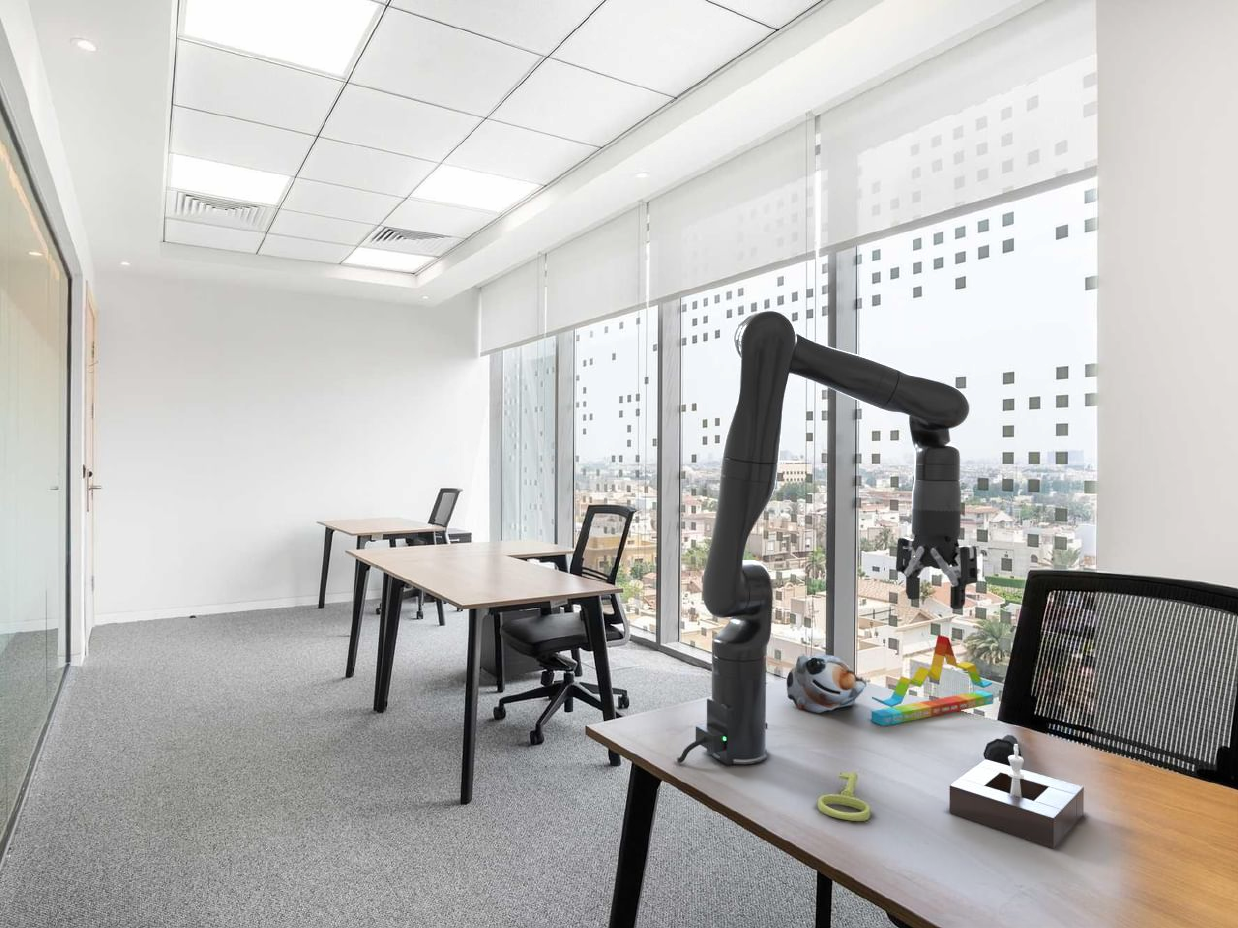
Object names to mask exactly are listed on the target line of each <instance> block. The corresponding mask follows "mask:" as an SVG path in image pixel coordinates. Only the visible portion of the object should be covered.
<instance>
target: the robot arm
mask: <svg viewBox="0 0 1238 928" xmlns="http://www.w3.org/2000/svg"><path fill="white" fill-rule="evenodd" d="M732 344H733V349H734V351H735V354H736V355H737V357H738V358H739V359H740V379H739V389H738V390H739V391H738V397H737V401H736V406H735V409H734V412H733V415H732V418H731V421H730V423H729V427H728V430H727V433H726V437H725V440H724V446H723V450H722V458H721V467H720V468H721V469H720V475H719V486H718V487H719V488H718V495H717V496H718V497H717V503H716V510H715V518H714V524H713V530H712V535H711V540H710V544H709V547H708V548H709V549H708V553H707V557H706V561H705V566H704V569H703V570H704V571H703V574H702V575H703V576H702V585H701V587H702V588H701V589H702V590H701V591H702V600H703V602H704V606H705V607H706V610H707V611H708V612H709V614H711V615H712V616H713V617H716V618H718V619H728V618H729V621H728V623H727V624H726V625H725V626H724V628H722V629H721V630H720V631H719V632H717V633H716V634H715V635H714V636H713V637H712V641H711V697H708V698H707V699H706V723H703V724H698V725H695V741H693V742H691V743H689V744H688V745H687V746H685V748H684V749H683V751H682V753H681V755H680V757H677V758H676V760H677V761H676V762H677V763H678V764H681V763H683V762H684V761H685V760H686V758H687V756H688V754H689V753H690V752H691V751H692V750H694V749H696V748H697V747H698V746H701V747H703V748H705V749H706V754H709V755H710V756H712V757H713V758H715V759H717V760H718V761H720V762H722V763H723V764H726V765H727V766H730V765H754V764H758V763H760V762H762V761H764V760H765V759H766V758H767V749H766V748H767V747H766V746H767V743H766V742H767V737H766V736H767V730H768V723H767V647H768V645H769V643H770V639H771V636H772V622H773V603H774V591H773V590H774V588H773V582H772V578H771V575H770V573H769V571H768V569H767V567H766V566H765V565H764V564H762V563H761V562H760V561H757V560H753V559H744V558H745V551H746V547H747V544H748V541H749V537H750V535H751V533H752V531H753V530H754V527H755V525H756V524H757V522H758V521H759V520H760V518H761V516H762V514H764V511H765V510H766V508H767V506H768V505H769V503H770V501H771V499H772V497H773V494H774V492H775V489H776V483H777V475H778V468H779V462H780V461H779V460H780V452H781V451H780V450H781V449H780V448H781V441H782V440H781V439H782V429H783V428H782V427H783V412H784V402H785V395H786V391H787V386H788V382H789V379H790V374H791V375H794V376H797V377H801V378H803V379H806V380H808V381H811V382H814V383H817V384H819V385H822V386H824V387H826V388H829V389H831V390H834V391H836V392H838V393H840V394H842V395H845V396H847V397H850V398H852V399H854V400H857V401H859V402H861V403H864V404H866V405H869V406H871V407H874V408H877V409H879V410H882V411H885V412H889V413H900V414H904V415H907V416H908V428H909V433H910V438H911V443H912V447H913V452H914V463H913V464H914V467H913V470H914V471H913V487H912V491H911V492H912V493H911V494H912V495H911V534H913V538H912V537H910V536H909V537H907V536H905V537H898V538H897V542H896V543H897V544H896V545H897V546H896V560H895V561H896V562H895V570H896V572H898V573H902V574H903V575H904V577H905V594H906V596H907V599H908V600H912V601H913V600H915V601H916V600H918V599H920V597H921V595H920V593H921V592H920V591H921V577H919V575H920V574H921V573H922V571H923V570H924V569H925V568H933V569H937V570H940V571H941V572H942V574H944V575H945V576H946V577H947V579H948V580H949V582H950V584H951V585H950V596H949V597H950V598H949V599H950V601H949V607H950V609H952V610H960V609H961V610H962V609H963V607H964V606H965V604H966V587H967V586H968V585H972V584H976V583H977V582H978V580H979V579H978V549H977V547H976V546H975V545H965V546H964V545H963V546H961V545H960V544H959V537H960V535H961V525H962V524H961V523H962V521H961V520H962V519H961V518H962V514H961V513H962V491H961V490H962V489H961V481H960V479H961V455H960V454H961V453H960V450H959V448H957V446H955V445H954V444H952V442H951V436H950V429H951V430H952V429H954V428H956V427H958V426H960V425H962V424H963V423H965V421H966V419H967V418H968V416H969V414H970V402H969V400H968V398H967V396H966V395H965V393H963V392H962V391H961V390H960V389H959V388H957V387H955V386H953V385H950V384H948V383H945V382H941V381H937V380H935V379H931V378H927V377H922V376H918V375H913V374H909V373H907V372H904V371H902V370H900V369H898V368H895V367H893V366H890V365H888V364H885V363H882V362H880V361H877V360H875V359H871V358H869V357H865V356H862V355H859V354H856V353H852V352H847V351H844V350H842V349H841V350H840V349H837V348H834V347H831V346H829V345H825V344H822V343H819V342H816V341H814V340H812V339H809V338H808V337H805V336H803V335H801V334H800V333H798V332H796V329H795V326H794V324H793V323H792V321H791V320H790V319H789V317H787V316H786V315H785V314H784V313H782V312H779V311H776V310H765V311H759V312H756V313H752V314H750V315H749V316H747V317H745V318H744V319H743V320H742V321H740V322H739V324H738V325H737V327H736V328H735V331H734V333H733V338H732ZM913 551H914V553H915V554H913ZM912 554H913V555H912ZM958 558H959V560H958Z"/></svg>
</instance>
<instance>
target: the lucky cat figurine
mask: <svg viewBox="0 0 1238 928" xmlns="http://www.w3.org/2000/svg"><path fill="white" fill-rule="evenodd" d="M866 687H867V679H866V678H865V679H864V678H863V676H857V674H855V671H853V669H852V668H851V667H850V666H849V665H848V664H847V663H846V662H844V661H843V660H842V659H841V658H839V657H837V656H835V655H828V654H825V653H824V654H813V655H811V656H810V657H807V656H806V655H805V654H804V653H802V654H799V656H797V658H796V663H795V666H794V667H792V668H791V670H790V671H789V672H788V674H787V677H786V692H787V693H786V694H787V698H788V699H789V700H792V701H793V703H794V705H795V707H796V708H797V709H799V710H802V711H803V710H804V711H807V712H810V713H811V712H812V713H816V714H822V713H824V712H826V711H832V710H834V709H837V708H843V707H848V706H854V705H855V703H856V699H857V698H858V697H859V696H860V695H862V693H863V692H864V689H865V688H866Z"/></svg>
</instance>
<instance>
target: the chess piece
mask: <svg viewBox="0 0 1238 928" xmlns="http://www.w3.org/2000/svg"><path fill="white" fill-rule="evenodd" d="M1018 748H1019V744H1014V755H1010V756H1009V757H1008V759H1009V762H1010V765H1011V768H1012V771H1009V772H1008V776H1010V777H1012V785H1011V792H1010V794H1012V795H1016V796H1019V797H1022V795H1021V787H1020V779H1023V778H1024V774H1023V773H1021V772H1020V770H1021V769H1022V768H1023V766H1024V764H1025V763H1024V762H1025V759H1024V758H1023V756H1022V757H1020V756H1018V754H1019V751H1018Z"/></svg>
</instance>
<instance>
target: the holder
mask: <svg viewBox="0 0 1238 928" xmlns="http://www.w3.org/2000/svg"><path fill="white" fill-rule="evenodd" d="M1009 771H1012V768H1011V766H1007V765H1004V764H1000V763H997V762H993V761H990V760H986V759H985V758H984V760H982V761H981V762H979V763H978V764H977V765H975V766H974V767H972V768H971V769H969V770H968V771H967V772H966V773H964V774H963V775H962V776H959V778H957V779H956V780H955V781H953V782H952V783H951V784H949V800H948V801H949V803H948V805H949V806H948V807H949V810H948V811H949V814H952V815H955V816H958V817H960V818H964V819H967V820H969V821H972V822H975V823H978V824H981V825H984V826H987V827H989V828H992V829H995V830H999V831H1002V832H1004V833H1008V834H1010V835H1013V836H1016V837H1019V838H1021V839H1024V840H1027V841H1029V842H1033V843H1036V844H1039V845H1042V846H1045V847H1048V848H1050V849H1055V848H1056V847H1057V845H1058V844H1059V843H1060V842H1061V841H1062V840H1063V838H1064V837H1066V835H1067V834H1068V833H1069V832H1070V830H1071V829H1073V827H1074V826H1075V825H1076V824H1077V822H1078V821H1079V820H1080V819H1081V818H1082V817H1083V816H1084V812H1085V809H1084V805H1085V804H1084V803H1085V799H1084V798H1085V797H1084V796H1085V794H1084V793H1085V787H1084V786H1082V785H1079V784H1075V783H1071V782H1067V781H1063V780H1060V779H1056V778H1053V777H1049V776H1046V775H1042V774H1039V773H1035V772H1033V771H1029V770H1025V769H1022V768H1021V770H1020V772H1021V773H1023V774H1024V778H1023V779H1020V787H1021V795H1022V797H1019V796H1016V795H1012V794H1010V792H1011V785H1012V777H1010V776H1008V772H1009Z"/></svg>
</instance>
